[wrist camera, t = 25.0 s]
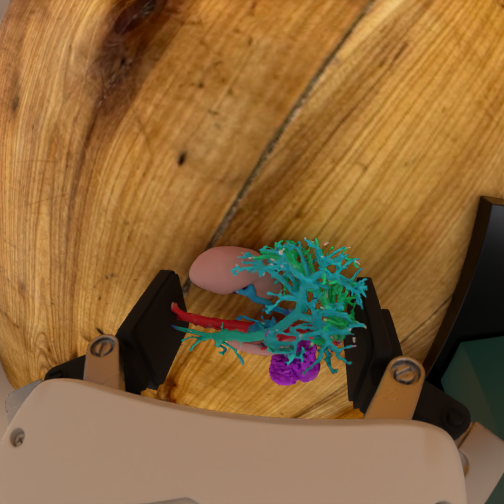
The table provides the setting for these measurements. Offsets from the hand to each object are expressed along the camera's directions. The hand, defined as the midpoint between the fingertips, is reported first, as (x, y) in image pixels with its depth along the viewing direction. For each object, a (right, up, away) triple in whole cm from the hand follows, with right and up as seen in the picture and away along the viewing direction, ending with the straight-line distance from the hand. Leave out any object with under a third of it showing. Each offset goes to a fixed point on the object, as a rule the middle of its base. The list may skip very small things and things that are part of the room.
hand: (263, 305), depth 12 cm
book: (+15, -7, -11) cm, 20 cm away
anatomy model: (0, +1, +1) cm, 1 cm away
